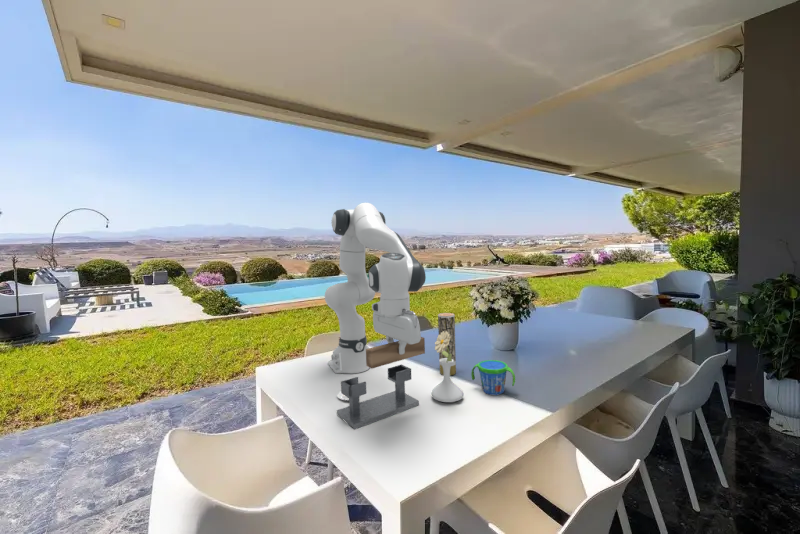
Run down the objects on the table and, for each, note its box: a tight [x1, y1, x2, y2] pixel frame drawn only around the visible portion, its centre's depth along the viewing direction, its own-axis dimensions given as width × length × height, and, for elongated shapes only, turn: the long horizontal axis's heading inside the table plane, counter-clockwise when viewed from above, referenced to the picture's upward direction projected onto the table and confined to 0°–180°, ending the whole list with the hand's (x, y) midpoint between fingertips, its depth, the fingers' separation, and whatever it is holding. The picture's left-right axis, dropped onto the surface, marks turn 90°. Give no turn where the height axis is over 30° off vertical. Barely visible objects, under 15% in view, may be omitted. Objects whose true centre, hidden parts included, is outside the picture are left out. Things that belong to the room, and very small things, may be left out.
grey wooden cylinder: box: [437, 312, 457, 377], centre depth 151 cm, size 7×7×25 cm
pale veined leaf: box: [337, 390, 345, 401], centre depth 132 cm, size 8×12×2 cm, turn 27°
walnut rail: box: [366, 336, 426, 370], centre depth 110 cm, size 3×20×5 cm, turn 127°
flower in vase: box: [430, 331, 464, 403], centre depth 126 cm, size 13×11×25 cm
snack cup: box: [470, 359, 516, 396], centre depth 132 cm, size 16×10×10 cm
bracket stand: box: [336, 364, 420, 430], centre depth 121 cm, size 12×25×12 cm, turn 126°
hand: (396, 352), depth 110 cm, fingers closed on walnut rail, 3 cm apart
